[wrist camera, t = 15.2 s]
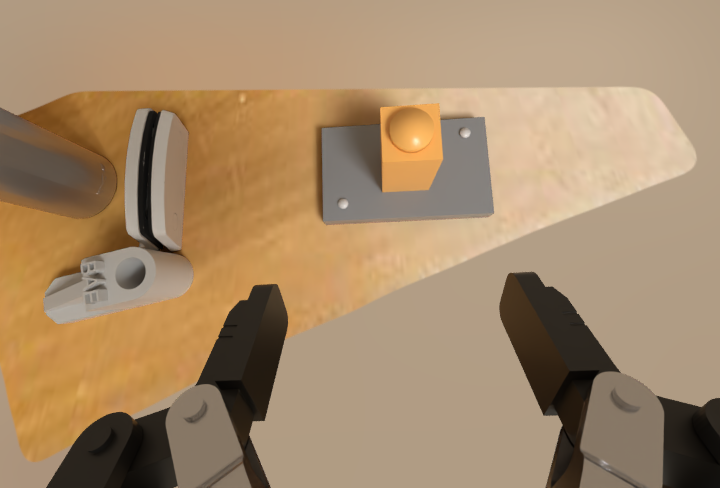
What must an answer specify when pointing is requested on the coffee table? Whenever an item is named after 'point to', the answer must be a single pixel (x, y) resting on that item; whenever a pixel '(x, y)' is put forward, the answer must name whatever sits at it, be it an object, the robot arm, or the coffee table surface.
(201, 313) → the coffee table surface
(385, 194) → the riveted grey base plate
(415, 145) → the orange dome-topped block
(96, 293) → the grey mounting bracket
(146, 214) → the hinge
